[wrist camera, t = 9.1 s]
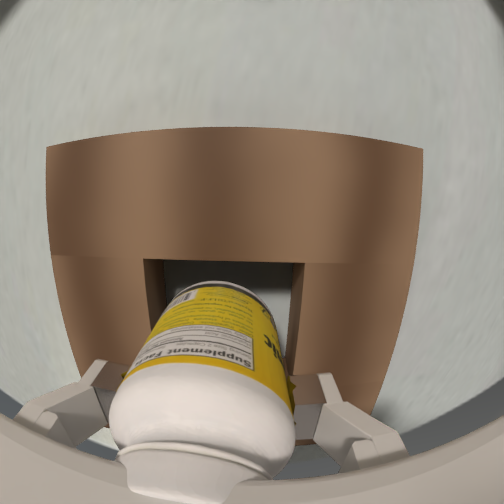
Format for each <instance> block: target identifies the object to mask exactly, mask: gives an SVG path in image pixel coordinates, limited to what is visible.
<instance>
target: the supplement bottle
mask: <svg viewBox="0 0 504 504" xmlns="http://www.w3.org/2000/svg"><path fill="white" fill-rule="evenodd" d="M109 426H110V430H111V434H112V436H113V439H114V441H115V443H116V444H117V446H118V448H119V450H120V451H119V452H118V454H117V456H116V458H115V461H114V462H118V463H121V464H123V465H124V466H125V467H126V469H127V484H128V487H129V488H130V490H131V491H133V492H135V493H138V494H142V495H145V496H150V497H154V498H159V499H165V500H170V501H176V502H183V503H190V504H221V503H223V502H224V501H226V499H227V497H228V496H229V494H230V492H231V490H232V489H233V487H234V485H236V484H237V483H239V482H241V481H246V480H273V478H274V477H275V476H276V475H277V474H279V473H280V472H281V471H282V469H284V467H285V466H286V465H287V463H288V462H289V460H290V458H291V456H292V454H293V451H294V447H295V440H296V434H295V426H294V418H293V413H292V408H291V403H290V398H289V393H288V388H287V382H286V377H285V371H284V365H283V361H282V356H281V351H280V346H279V341H278V335H277V330H276V326H275V322H274V319H273V316H272V314H271V312H270V311H269V309H268V307H267V306H266V304H265V303H264V302H263V301H262V300H261V299H260V298H259V297H258V296H257V295H256V294H254V293H253V292H251V291H250V290H248V289H246V288H244V287H242V286H239V285H237V284H234V283H230V282H224V281H206V282H201V283H197V284H194V285H192V286H190V287H187V288H186V289H184V290H182V291H181V292H180V293H178V294H177V295H176V296H175V297H174V298H173V299H172V301H171V302H170V303H169V305H168V306H167V308H166V309H165V311H164V312H163V314H162V315H161V317H160V319H159V320H158V322H157V324H156V325H155V327H154V328H153V330H152V332H151V334H150V335H149V337H148V338H147V340H146V342H145V344H144V345H143V347H142V349H141V350H140V352H139V354H138V356H137V357H136V359H135V361H134V362H133V364H132V366H131V367H130V369H129V371H128V372H127V374H126V376H125V378H124V379H123V381H122V383H121V385H120V386H119V388H118V390H117V392H116V394H115V396H114V398H113V400H112V403H111V407H110V411H109Z"/></svg>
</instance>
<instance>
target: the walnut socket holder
mask: <svg viewBox="0 0 504 504" xmlns="http://www.w3.org/2000/svg"><path fill="white" fill-rule="evenodd" d="M422 179H423V149H421V148H417V147H413V146H408V145H403V144H398V143H393V142H388V141H383V140H377V139H371V138H365V137H358V136H351V135H344V134H336V133H328V132H318V131H308V130H295V129H280V128H259V127H199V128H177V129H162V130H151V131H140V132H131V133H123V134H115V135H108V136H101V137H95V138H89V139H83V140H78V141H72V142H67V143H62V144H58V145H53V146H49V147H47V150H46V206H47V222H48V233H49V243H50V251H51V259H52V265H53V272H54V278H55V283H56V288H57V293H58V298H59V303H60V307H61V312H62V316H63V320H64V324H65V328H66V331H67V335H68V338H69V342H70V345H71V349H72V352H73V355H74V358H75V361H76V364H77V367H78V370H79V373H80V376H81V378H82V377H83V375H84V374H85V373H86V371H87V370H88V369H89V367H90V366H91V365H92V364H93V362H94V361H95V360H97V359H101V360H106V361H112V362H117V363H122V364H127V365H132V364H133V362H134V361H135V359H136V357H137V356H138V354H139V352H140V350H141V349H142V347H143V345H144V344H145V342H146V340H147V338H148V337H149V335H150V334H151V332H152V330H153V328H154V327H155V325H156V324H157V322H158V320H159V319H160V317H161V315H162V314H163V312H164V311H165V309H166V308H167V302H166V290H165V278H164V262H163V259H174V260H209V261H249V262H293V275H292V288H291V300H290V312H289V323H288V334H287V344H286V353H285V358H282V361H283V365H284V371H285V377H286V382H287V377H288V375H306V374H317V373H329V372H330V373H331V374H332V375H333V378H334V380H335V383H336V385H337V388H338V390H339V393H340V395H341V398H342V400H343V402H349V403H350V404H352V405H354V406H355V407H357V408H358V409H360V410H362V411H363V412H365V413H367V414H368V415H371V412H372V410H373V408H374V405H375V403H376V400H377V397H378V395H379V392H380V389H381V387H382V384H383V381H384V378H385V375H386V372H387V369H388V366H389V363H390V360H391V357H392V354H393V350H394V347H395V344H396V340H397V337H398V333H399V329H400V326H401V322H402V318H403V314H404V309H405V305H406V301H407V296H408V291H409V286H410V281H411V276H412V271H413V265H414V259H415V252H416V245H417V238H418V230H419V221H420V210H421V197H422ZM104 427H106V428H110V426H109V423H108V424H107V425H106V426H104ZM310 444H317V443H316V442H315V441H314V440H313V439H301V440H295V446H298V445H310Z"/></svg>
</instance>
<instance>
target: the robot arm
mask: <svg viewBox="0 0 504 504" xmlns="http://www.w3.org/2000/svg"><path fill="white" fill-rule="evenodd" d="M131 366H132V365H127V364H122V363H117V362H112V361H106V360H101V359H97V360H95V361H94V362H93V364H92V365H91V366H90V367H89V369H88V370H87V371H86V373H85V374H84V375H83V377H82V378H81V379H80V381H79V382H78V383H76V382H74V383H71V384H69V385H67V386H64V387H62V388H59V389H57V390H55V391H52V392H50V393H47V394H45V395H42V396H40V397H37V398H35V399H32V400H30V401H28V402H27V403H26V404H25V405H24V406H23V408H22V409H21V410H20V411H19V413H18V414H17V415H16V416H15V418H14V419H13V420H12V419H10V418H8V417H6V416H4V415H3V414H1V413H0V504H190V503H183V502H176V501H170V500H165V499H159V498H154V497H150V496H145V495H142V494H138V493H135V492H133V491H131V490H130V488H129V487H128V484H127V469H126V467H125V466H124V465H123V464H121V463H118V462H114V461H111V460H107V459H104V458H101V457H97V456H95V455H91V454H88V453H86V452H83V451H80V450H77V449H76V446H77V445H78V444H80V443H82V442H83V441H84V440H86V439H87V438H89V437H90V436H92V435H93V434H94V433H96V432H97V431H99V430H100V429H102V428H103V427H104V426H106V425H107V424H108V423H109V411H110V407H111V403H112V400H113V398H114V396H115V394H116V392H117V390H118V388H119V386H120V385H121V383H122V381H123V379H124V378H125V376H126V374H127V372H128V371H129V369H130V367H131ZM287 388H288V393H289V398H290V403H291V408H292V413H293V418H294V426H295V434H296V440H301V439H313V440H314V441H315V442H316V443H317V444H318V445H319V446H320V447H321V448H322V449H323V450H324V451H325V452H326V453H327V454H328V455H329V456H330V457H331V458H332V459H333V460H334V461H336V462H337V463H338V464H339V465H340V466H341V468H340V470H339V472H338V474H332V475H325V476H318V477H309V478H298V479H285V480H246V481H241V482H239V483H237V484H236V485H234V487H233V489H232V490H231V492H230V494H229V496H228V497H227V499H226V501H224V502H223V503H221V504H504V415H503V416H501V417H499V418H497V419H496V420H494V421H492V422H490V423H488V424H486V425H485V426H483V427H481V428H479V429H477V430H475V431H473V432H471V433H469V434H467V435H464V436H462V437H460V438H458V439H455V440H453V441H451V442H448V443H446V444H443V445H441V446H438V447H436V448H433V449H430V450H428V451H425V452H422V453H419V454H416V455H413V456H410V455H409V454H408V451H407V449H406V447H405V446H404V444H403V442H402V440H401V438H400V436H399V434H398V432H397V431H395V430H393V429H392V428H390V427H388V426H387V425H385V424H383V423H381V422H380V421H378V420H376V419H375V418H373V417H371V416H370V415H368V414H367V413H365V412H363V411H362V410H360V409H358V408H357V407H355V406H354V405H352V404H350V403H349V402H343V400H342V398H341V395H340V393H339V390H338V388H337V385H336V383H335V380H334V378H333V375H332V374H331V373H330V372H329V373H317V374H306V375H288V377H287Z"/></svg>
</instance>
